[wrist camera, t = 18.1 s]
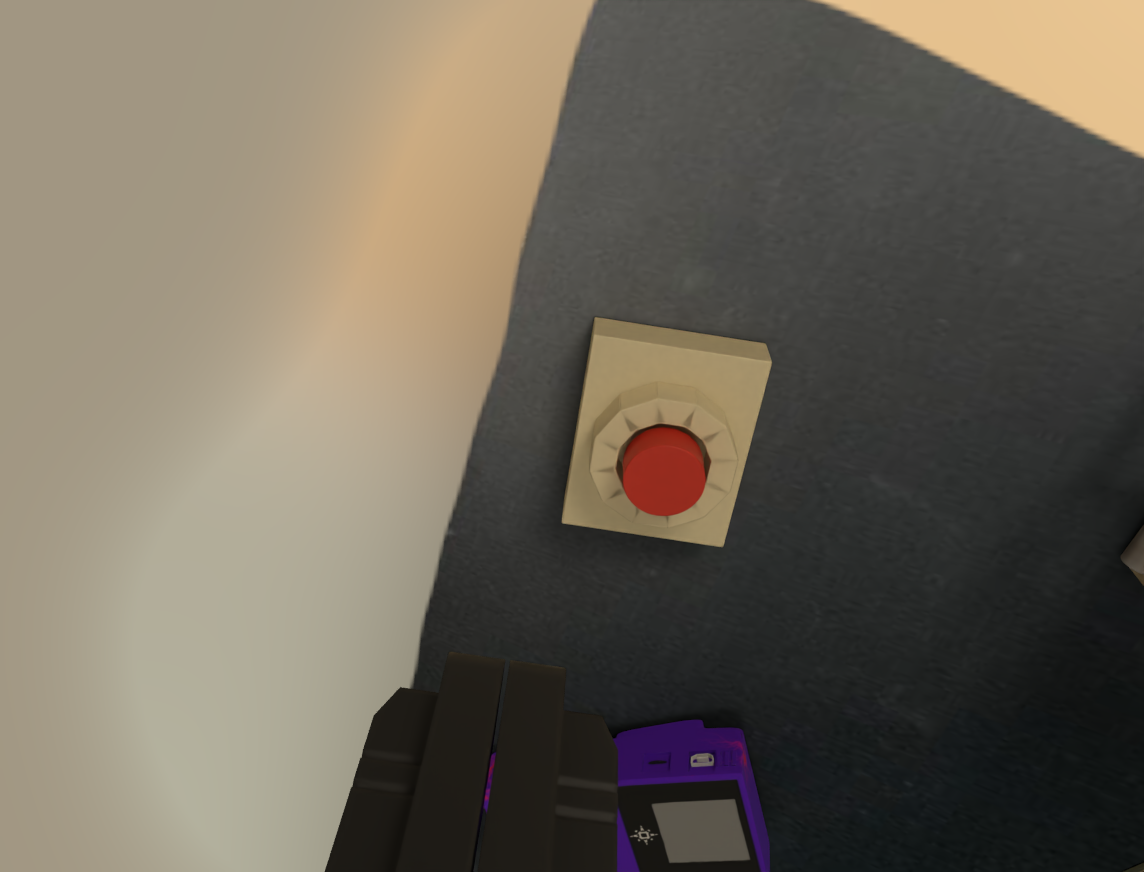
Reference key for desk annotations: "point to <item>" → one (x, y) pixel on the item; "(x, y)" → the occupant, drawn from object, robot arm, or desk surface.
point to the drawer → (1135, 555)
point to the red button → (663, 471)
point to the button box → (663, 423)
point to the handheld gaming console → (686, 801)
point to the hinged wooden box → (1136, 868)
